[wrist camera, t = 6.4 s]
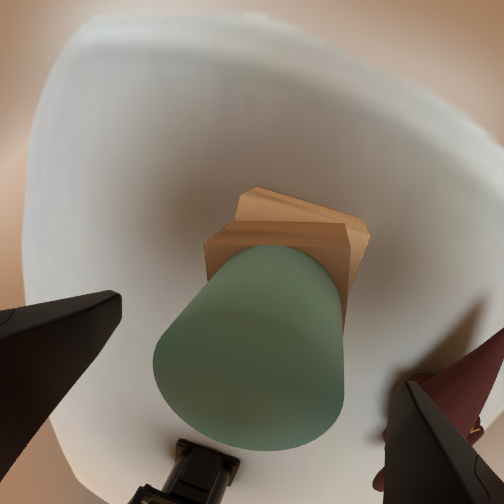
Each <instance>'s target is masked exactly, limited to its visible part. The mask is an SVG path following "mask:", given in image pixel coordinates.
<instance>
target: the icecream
mask: <svg viewBox="0 0 504 504" xmlns="http://www.w3.org/2000/svg"><path fill="white" fill-rule="evenodd" d="M503 359H504V328H503V329H501V330H500V331H498V332H497V333H496V334H495V335H493V336H492V337H491V338H490V339H488V340H487V341H486V342H484V343H483V344H482V345H480V346H479V347H478V348H476V349H475V350H473V351H472V352H471V353H469V354H468V355H466V356H465V357H463V358H462V359H460V360H459V361H457V362H456V363H454V364H453V365H451V366H449V367H448V368H446V369H445V370H443V371H441V372H440V373H438V374H436V375H435V376H430V375H425V374H416V375H414V376H413V377H412V378H411V379H410V380H409V381H412V382H416V383H417V384H418V385H419V386H420V387H421V388H422V389H423V391H424V392H425V393H426V394H427V395H428V396H429V397H430V399H431V400H432V401H433V402H434V403H435V404H436V405H437V406H438V408H439V409H440V410H441V411H442V412H443V413H444V414H445V416H446V417H447V418H448V419H449V420H450V421H451V423H452V424H453V425H454V426H455V427H456V428H457V429H458V431H459V432H460V433H461V434H462V435H463V436H464V438H465V439H466V440H467V441H468V442H469V444H470V445H471V446H473V444H474V443H475V442H476V441H477V440H478V439H479V438H480V437H481V436H482V435H483V434H484V429H483V427H482V426H480V417H479V415H480V413H481V411H482V409H483V406H484V404H485V402H486V400H487V398H488V396H489V394H490V391H491V389H492V387H493V384H494V382H495V380H496V377H497V375H498V372H499V370H500V367H501V365H502V362H503ZM387 423H388V422H387ZM386 433H387V428H386V429H385V431H384V432H383V433H382V434H383V437H384V440H385V442H386ZM384 449H385V448H384ZM384 474H385V466H384V467H383V469H381V470H380V471H379V472H378V474H377V475H376V476H375V478H374V480H373V486H372V487H373V488H374V489H375V490H377V491H379V492H382V491H384Z"/></svg>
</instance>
